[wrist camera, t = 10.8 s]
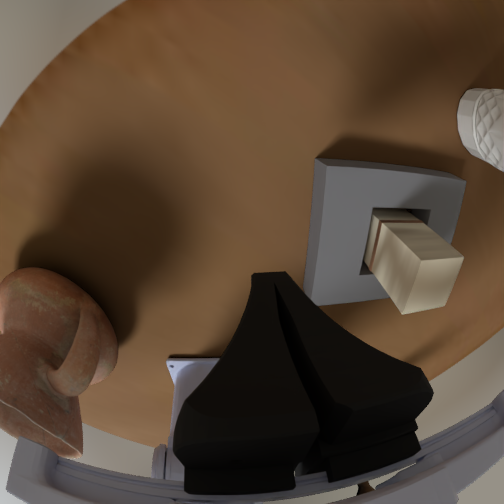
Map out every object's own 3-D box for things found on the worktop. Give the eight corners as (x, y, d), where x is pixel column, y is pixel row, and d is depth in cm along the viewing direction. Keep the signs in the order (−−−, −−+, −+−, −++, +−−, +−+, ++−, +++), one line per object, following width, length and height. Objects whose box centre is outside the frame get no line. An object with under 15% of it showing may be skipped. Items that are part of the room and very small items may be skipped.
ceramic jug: (65, 367, 28) (37, 457, 16) (-9, 286, 21) (-66, 373, 9) (169, 336, 26) (155, 472, 14) (78, 215, 19) (-27, 345, 7)
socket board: (421, 276, 25) (433, 291, 22) (303, 287, 24) (310, 306, 21) (448, 172, 19) (466, 181, 17) (315, 158, 18) (326, 165, 16)
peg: (395, 250, 23) (444, 306, 16) (356, 252, 22) (401, 315, 15) (405, 208, 21) (464, 256, 14) (364, 207, 20) (421, 259, 13)
